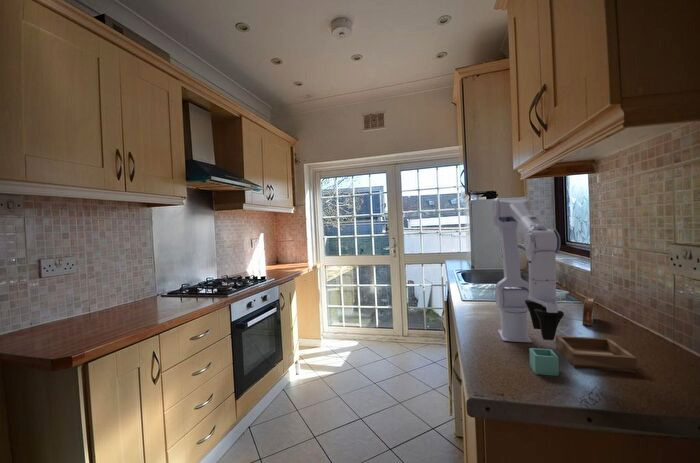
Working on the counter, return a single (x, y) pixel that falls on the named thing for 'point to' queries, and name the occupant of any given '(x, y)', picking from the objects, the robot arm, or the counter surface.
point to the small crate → (544, 361)
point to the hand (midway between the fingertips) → (543, 333)
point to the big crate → (596, 354)
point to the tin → (588, 311)
